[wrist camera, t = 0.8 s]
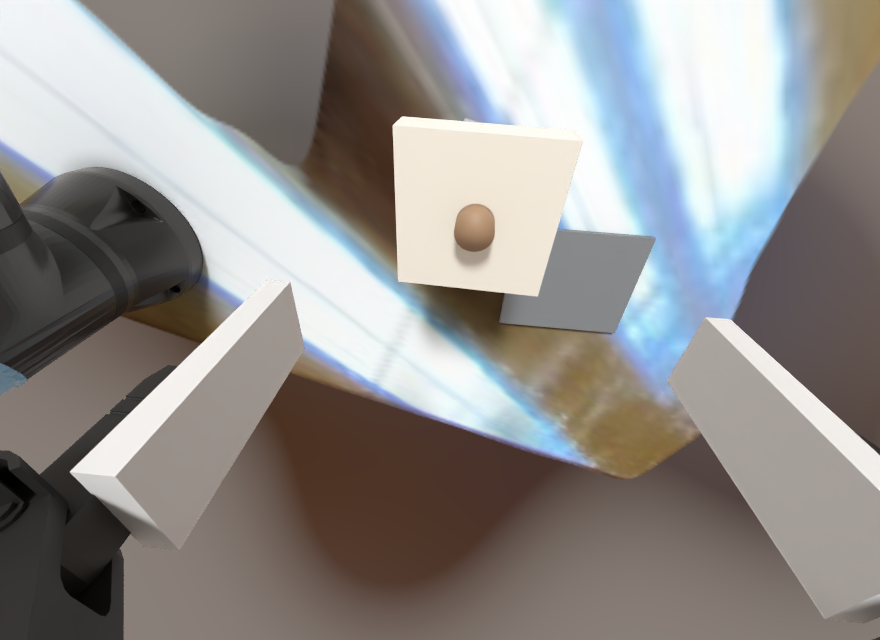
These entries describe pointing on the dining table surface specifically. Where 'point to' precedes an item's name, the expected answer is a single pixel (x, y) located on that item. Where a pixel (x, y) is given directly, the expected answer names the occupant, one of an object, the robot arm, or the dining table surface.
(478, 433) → the dining table surface
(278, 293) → the robot arm
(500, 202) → the lid
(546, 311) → the mat
